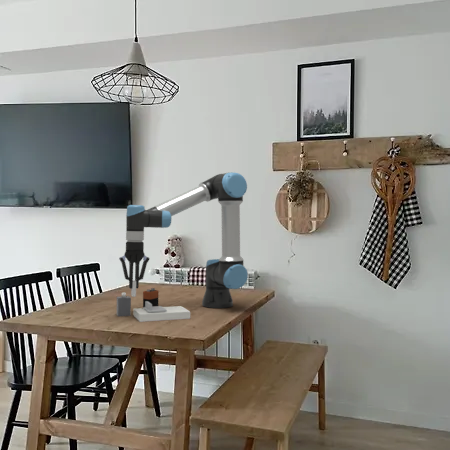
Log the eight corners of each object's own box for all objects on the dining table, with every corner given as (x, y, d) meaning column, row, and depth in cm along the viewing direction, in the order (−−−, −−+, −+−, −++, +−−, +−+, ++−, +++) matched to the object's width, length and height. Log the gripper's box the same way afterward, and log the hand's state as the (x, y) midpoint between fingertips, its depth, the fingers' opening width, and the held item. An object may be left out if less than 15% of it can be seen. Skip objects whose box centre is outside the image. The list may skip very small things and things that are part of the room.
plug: (128, 313, 232) (129, 291, 232) (130, 315, 228) (130, 293, 228) (116, 314, 230) (116, 292, 230) (118, 316, 226) (118, 293, 226)
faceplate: (181, 312, 237) (181, 306, 237) (190, 318, 224) (190, 311, 223) (133, 315, 229) (133, 308, 229) (139, 321, 216) (139, 314, 216)
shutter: (161, 307, 231) (161, 300, 231) (166, 311, 222) (166, 303, 222) (143, 308, 228) (143, 301, 228) (148, 312, 219) (148, 304, 219)
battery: (158, 309, 244) (158, 288, 243) (150, 311, 238) (150, 290, 237) (151, 308, 246) (151, 287, 246) (142, 310, 240) (142, 289, 240)
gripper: (147, 240, 227) (146, 294, 227) (118, 240, 222) (116, 295, 223) (151, 241, 220) (150, 296, 220) (121, 241, 215) (119, 297, 216)
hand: (133, 296), depth 222 cm, fingers closed
